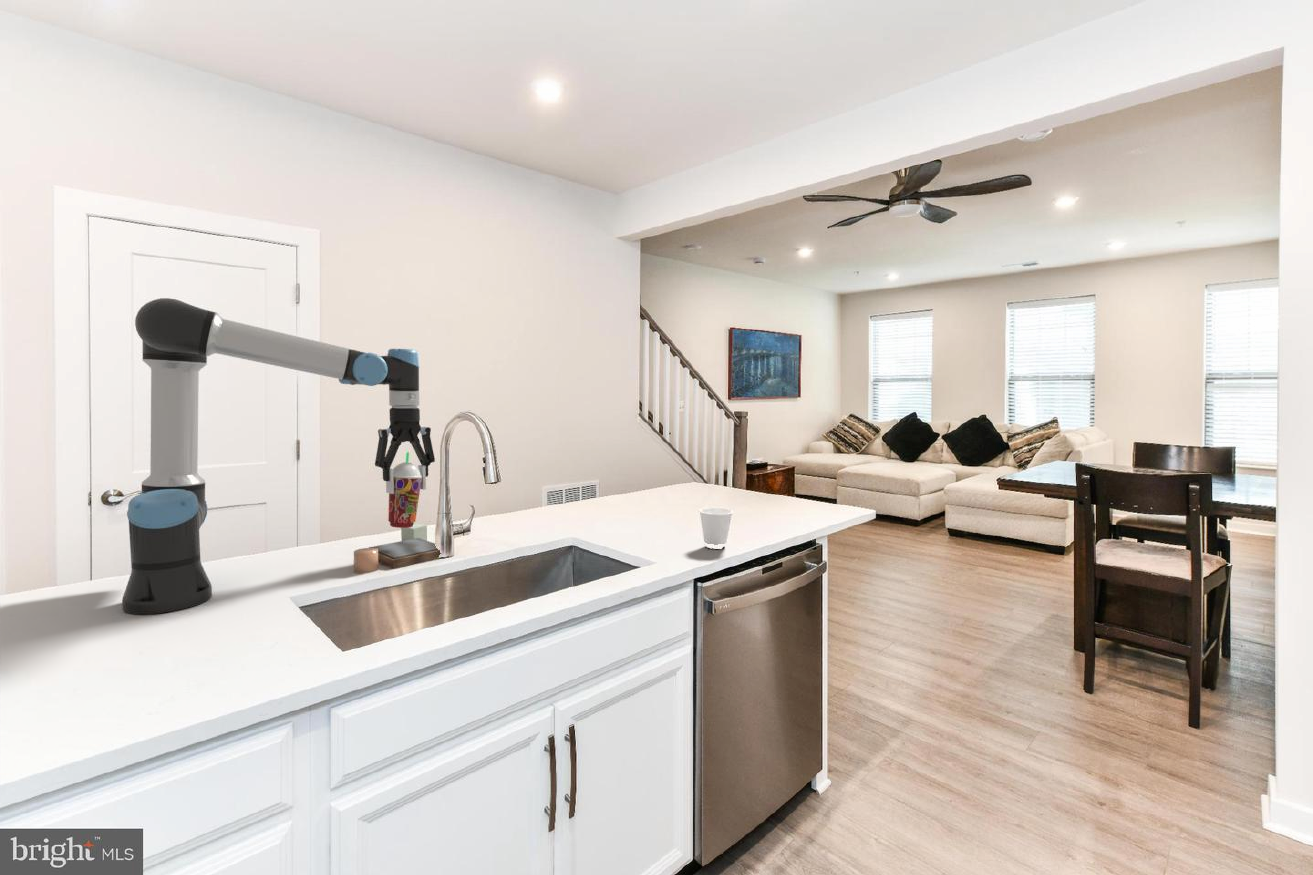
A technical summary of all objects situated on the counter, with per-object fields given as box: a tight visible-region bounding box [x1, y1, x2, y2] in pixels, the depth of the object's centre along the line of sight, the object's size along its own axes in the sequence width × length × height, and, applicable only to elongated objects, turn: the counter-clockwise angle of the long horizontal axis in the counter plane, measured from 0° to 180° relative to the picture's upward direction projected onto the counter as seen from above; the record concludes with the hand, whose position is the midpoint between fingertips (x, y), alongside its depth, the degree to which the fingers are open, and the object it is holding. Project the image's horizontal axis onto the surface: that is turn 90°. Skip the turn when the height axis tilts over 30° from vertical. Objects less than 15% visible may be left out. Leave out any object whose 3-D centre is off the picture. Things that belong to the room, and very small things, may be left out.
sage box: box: [400, 522, 428, 541], centre depth 187 cm, size 5×5×5 cm
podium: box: [368, 538, 441, 570], centre depth 172 cm, size 16×16×3 cm
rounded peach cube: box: [353, 547, 379, 574], centre depth 159 cm, size 6×6×5 cm
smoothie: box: [387, 451, 422, 528], centre depth 170 cm, size 8×8×20 cm
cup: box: [698, 507, 734, 545], centre depth 186 cm, size 10×10×11 cm
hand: (406, 490), depth 170 cm, fingers closed on smoothie, 8 cm apart
